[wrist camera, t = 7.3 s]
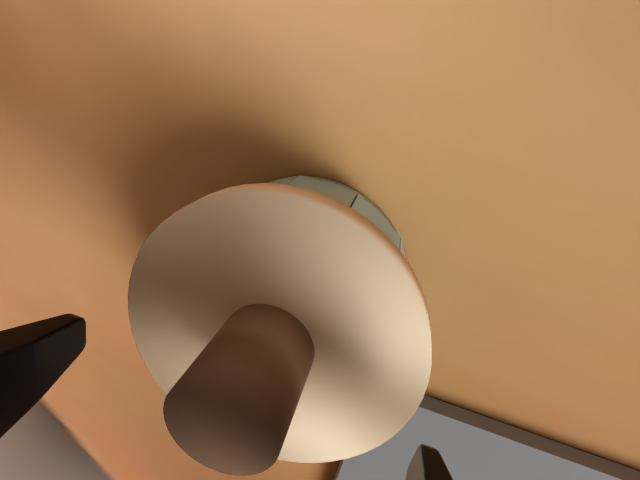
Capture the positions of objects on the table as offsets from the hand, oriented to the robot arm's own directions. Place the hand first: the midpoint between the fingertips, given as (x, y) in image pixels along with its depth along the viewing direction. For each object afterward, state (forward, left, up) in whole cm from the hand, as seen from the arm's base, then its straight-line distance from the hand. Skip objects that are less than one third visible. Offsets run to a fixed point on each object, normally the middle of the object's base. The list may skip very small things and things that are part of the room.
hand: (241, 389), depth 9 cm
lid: (0, 0, -3) cm, 3 cm away
